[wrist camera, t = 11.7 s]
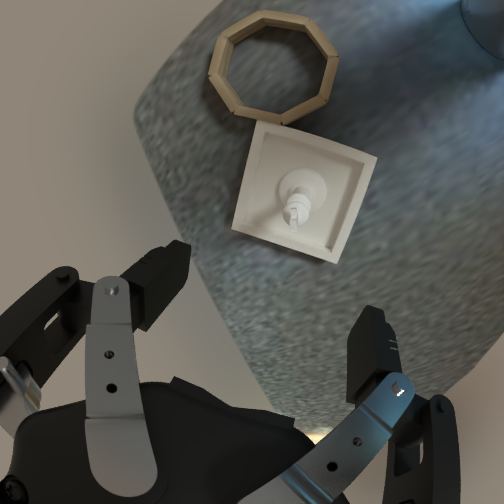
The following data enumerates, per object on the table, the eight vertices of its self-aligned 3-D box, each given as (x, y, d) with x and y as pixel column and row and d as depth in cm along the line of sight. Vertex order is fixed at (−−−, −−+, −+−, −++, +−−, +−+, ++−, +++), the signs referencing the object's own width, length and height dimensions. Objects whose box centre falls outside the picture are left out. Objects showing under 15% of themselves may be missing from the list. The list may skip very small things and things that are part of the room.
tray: (373, 155, 25) (377, 157, 23) (336, 254, 30) (336, 263, 28) (262, 120, 26) (257, 119, 24) (237, 222, 32) (231, 229, 30)
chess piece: (281, 214, 29) (261, 255, 20) (277, 168, 27) (254, 189, 18) (327, 213, 28) (328, 256, 19) (325, 166, 26) (328, 187, 17)
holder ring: (345, 35, 19) (347, 27, 17) (318, 135, 25) (318, 136, 23) (234, 14, 21) (227, 7, 19) (209, 109, 27) (199, 108, 24)
